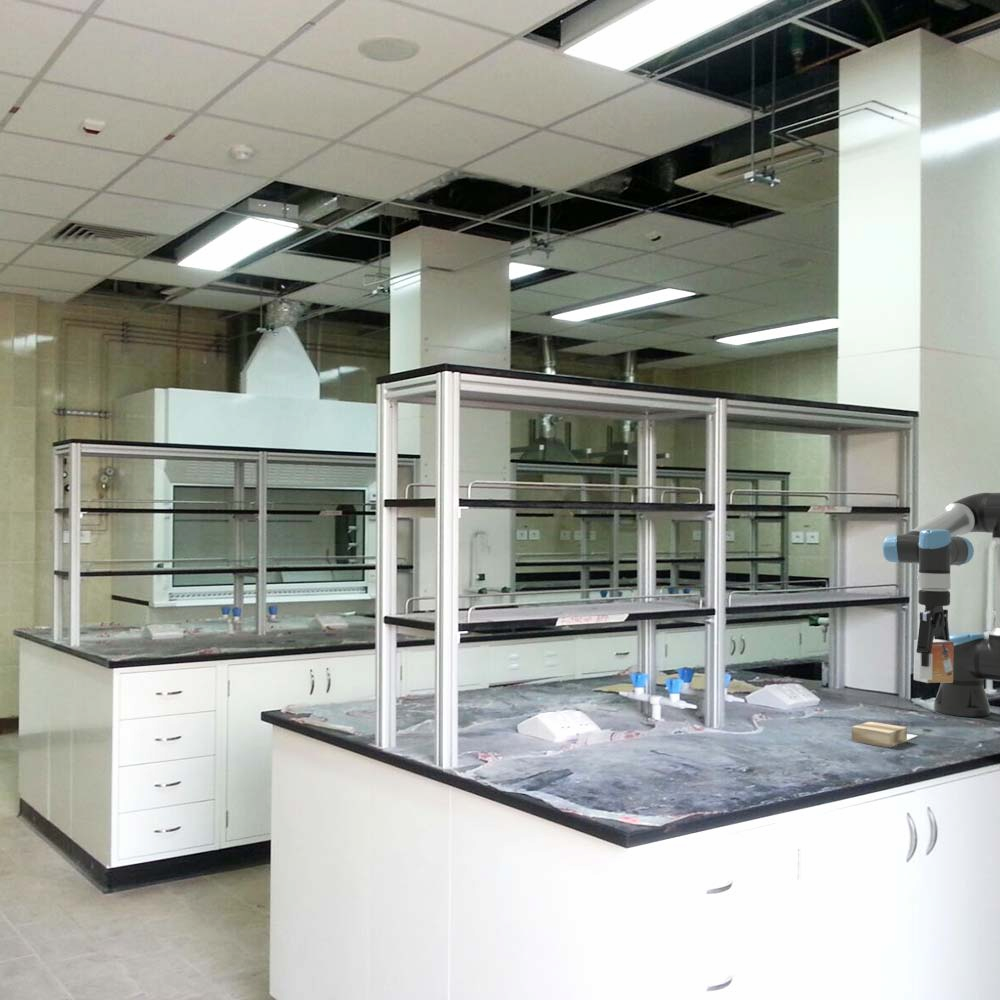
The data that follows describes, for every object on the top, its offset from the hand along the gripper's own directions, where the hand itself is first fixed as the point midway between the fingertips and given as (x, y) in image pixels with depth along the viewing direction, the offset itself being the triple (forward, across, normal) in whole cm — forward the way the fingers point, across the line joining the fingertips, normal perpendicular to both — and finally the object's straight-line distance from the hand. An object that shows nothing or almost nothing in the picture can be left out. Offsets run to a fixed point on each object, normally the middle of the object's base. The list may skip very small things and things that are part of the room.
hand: (933, 676), depth 268 cm
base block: (+17, +8, -11) cm, 22 cm away
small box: (+1, 0, 0) cm, 1 cm away
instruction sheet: (+17, -1, -10) cm, 20 cm away
